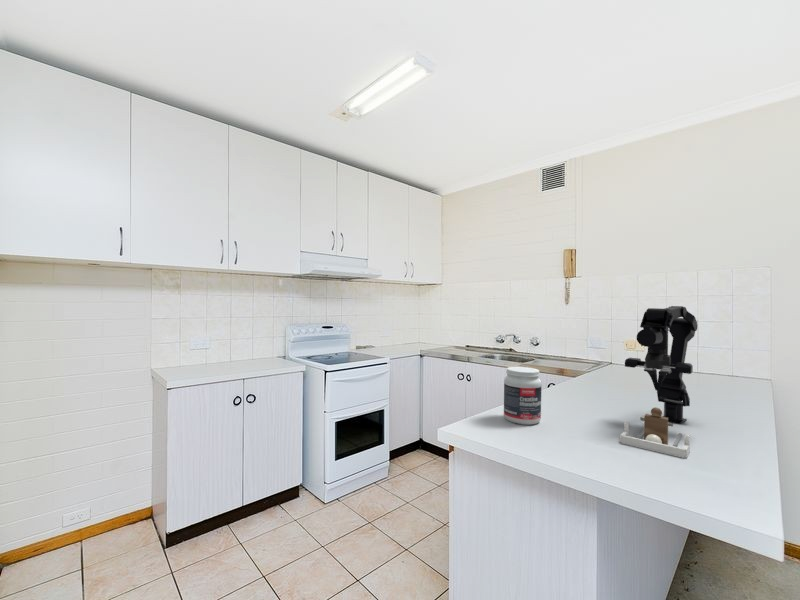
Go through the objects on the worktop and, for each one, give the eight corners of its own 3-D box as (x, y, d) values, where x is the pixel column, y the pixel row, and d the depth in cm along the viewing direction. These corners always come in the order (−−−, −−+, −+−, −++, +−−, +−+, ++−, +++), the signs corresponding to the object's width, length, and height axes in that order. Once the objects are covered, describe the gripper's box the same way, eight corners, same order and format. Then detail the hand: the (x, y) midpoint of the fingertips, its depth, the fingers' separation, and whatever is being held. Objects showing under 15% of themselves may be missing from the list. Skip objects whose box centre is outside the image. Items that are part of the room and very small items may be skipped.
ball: (645, 436, 109) (645, 449, 109) (662, 439, 107) (662, 452, 107) (645, 430, 112) (645, 443, 113) (661, 433, 110) (661, 445, 110)
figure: (641, 438, 116) (641, 404, 116) (673, 445, 111) (673, 409, 111) (638, 441, 114) (639, 406, 114) (671, 449, 108) (671, 411, 108)
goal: (624, 438, 118) (624, 421, 118) (689, 452, 107) (690, 435, 107) (619, 443, 113) (619, 426, 113) (687, 459, 102) (687, 441, 102)
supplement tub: (527, 428, 127) (528, 374, 127) (496, 418, 137) (496, 368, 137) (548, 421, 135) (548, 370, 135) (517, 412, 145) (517, 365, 145)
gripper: (621, 344, 130) (620, 389, 130) (689, 349, 117) (688, 399, 117) (628, 342, 138) (628, 384, 138) (693, 346, 125) (692, 393, 125)
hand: (657, 390), depth 129 cm, fingers closed
